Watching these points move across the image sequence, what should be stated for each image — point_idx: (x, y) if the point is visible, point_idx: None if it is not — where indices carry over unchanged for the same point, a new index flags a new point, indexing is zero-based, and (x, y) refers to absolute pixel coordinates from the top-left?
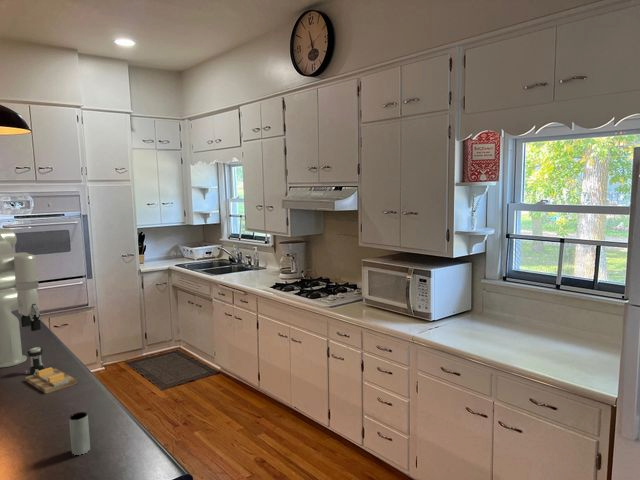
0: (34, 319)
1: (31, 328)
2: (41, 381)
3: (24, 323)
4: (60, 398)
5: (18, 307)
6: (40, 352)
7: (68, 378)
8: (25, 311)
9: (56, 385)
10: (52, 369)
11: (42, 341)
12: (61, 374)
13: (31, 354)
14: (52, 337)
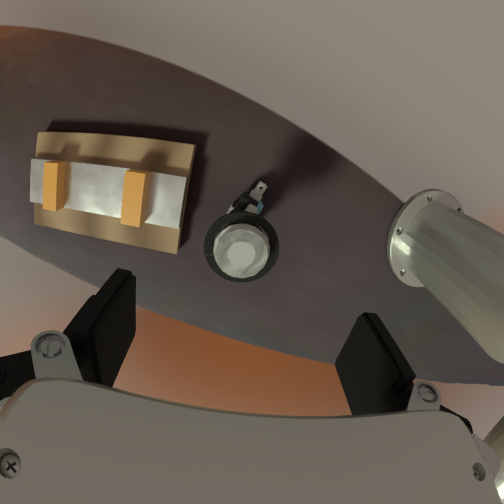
0: (28, 352)
1: (109, 279)
2: (99, 155)
3: (364, 344)
4: (3, 144)
5: (461, 488)
6: (210, 255)
7: (57, 217)
8: (26, 448)
9: (33, 164)
10: (121, 219)
11: (448, 361)
12: (46, 203)
13: (227, 217)
14: (441, 381)
